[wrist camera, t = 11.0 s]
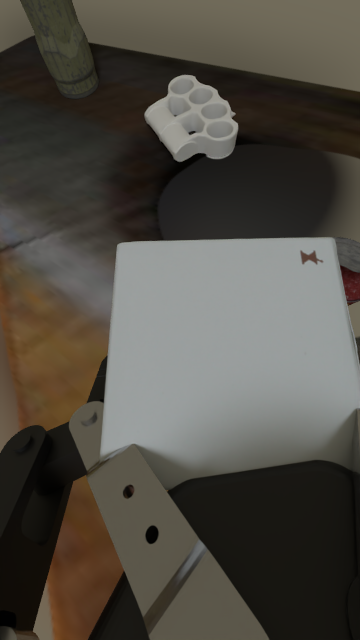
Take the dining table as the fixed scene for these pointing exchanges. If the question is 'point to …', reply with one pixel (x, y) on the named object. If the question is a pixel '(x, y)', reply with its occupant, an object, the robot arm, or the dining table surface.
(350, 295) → the canned food
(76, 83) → the thermos
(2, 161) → the dining table surface
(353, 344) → the supplement box
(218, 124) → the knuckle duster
